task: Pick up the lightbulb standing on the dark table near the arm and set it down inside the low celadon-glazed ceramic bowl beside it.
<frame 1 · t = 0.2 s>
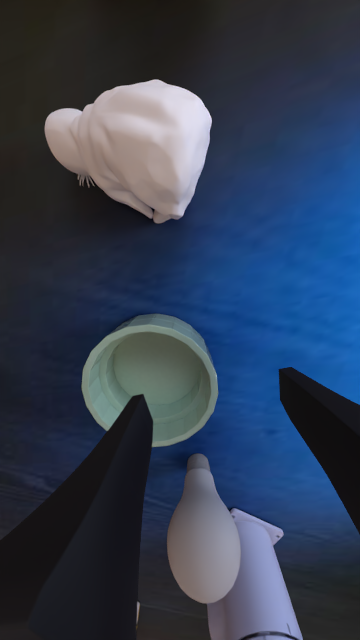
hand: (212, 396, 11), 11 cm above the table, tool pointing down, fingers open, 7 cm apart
bowl: (157, 364, 22), on the table
white crouching figurine: (135, 179, 18), on the table
lightbulb: (197, 454, 25), on the table
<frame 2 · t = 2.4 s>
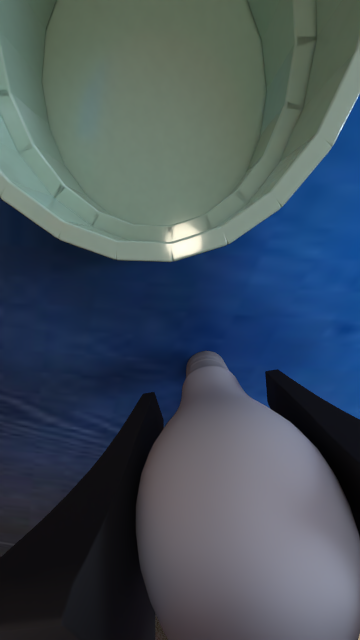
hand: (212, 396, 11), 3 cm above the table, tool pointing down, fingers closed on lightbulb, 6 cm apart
bowl: (157, 117, 9), on the table
lightbulb: (203, 359, 14), on the table, touching gripper
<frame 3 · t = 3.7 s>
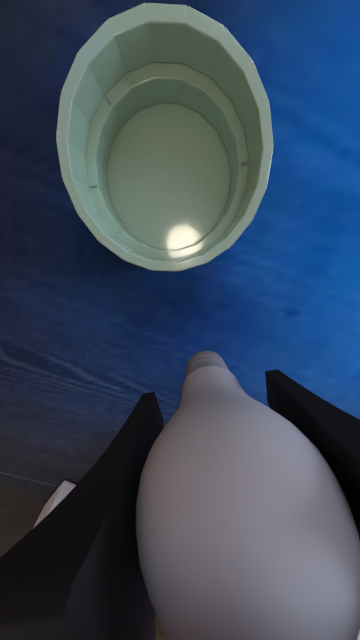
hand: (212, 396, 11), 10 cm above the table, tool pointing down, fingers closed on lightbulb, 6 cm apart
medicine bottle: (77, 497, 30), on the table
bowl: (169, 186, 16), on the table
lightbulb: (203, 359, 14), point 6 cm above the table, touching gripper
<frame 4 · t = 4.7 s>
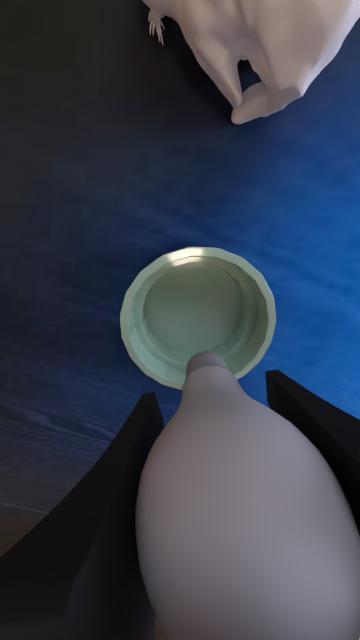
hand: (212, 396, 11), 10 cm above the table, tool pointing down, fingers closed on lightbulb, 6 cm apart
bowl: (193, 308, 20), on the table
white crouching figurine: (218, 50, 13), on the table
lightbulb: (203, 359, 14), point 7 cm above the table, touching gripper
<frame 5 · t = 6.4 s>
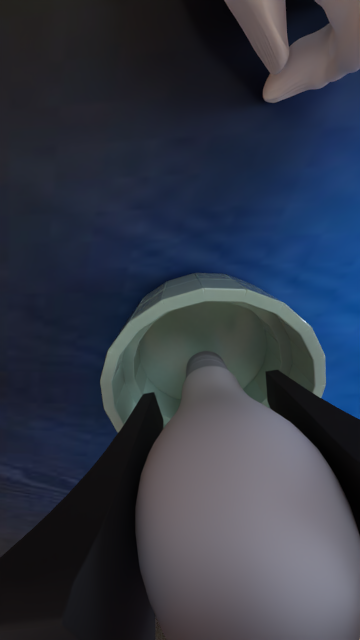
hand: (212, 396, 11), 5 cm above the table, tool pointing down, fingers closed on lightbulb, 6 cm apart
bowl: (202, 349, 15), on the table
lightbulb: (203, 359, 14), point 1 cm above the table, touching gripper
when the fingers open (4 cm above the table, at t = 7.3 s): lightbulb stays where it is, resting on bowl.
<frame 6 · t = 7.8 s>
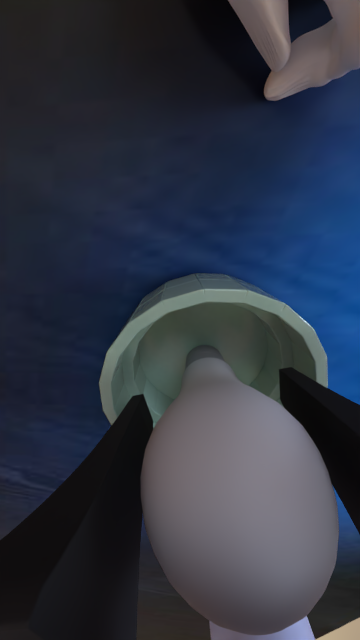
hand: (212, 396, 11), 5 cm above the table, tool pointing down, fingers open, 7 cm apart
bowl: (202, 350, 15), on the table
lightbulb: (202, 353, 15), resting on bowl
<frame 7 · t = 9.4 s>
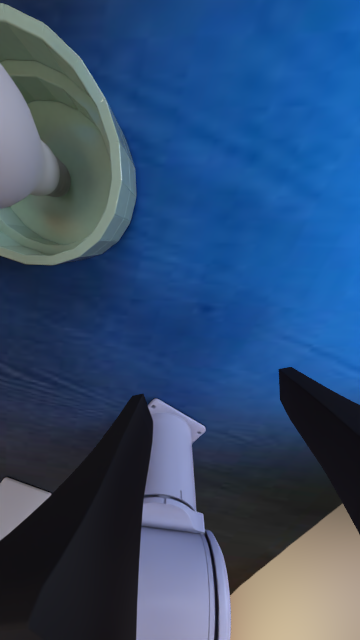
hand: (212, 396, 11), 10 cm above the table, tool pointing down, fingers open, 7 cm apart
medicine bottle: (22, 495, 30), on the table
bowl: (64, 182, 16), on the table
lightbulb: (60, 181, 15), resting on bowl
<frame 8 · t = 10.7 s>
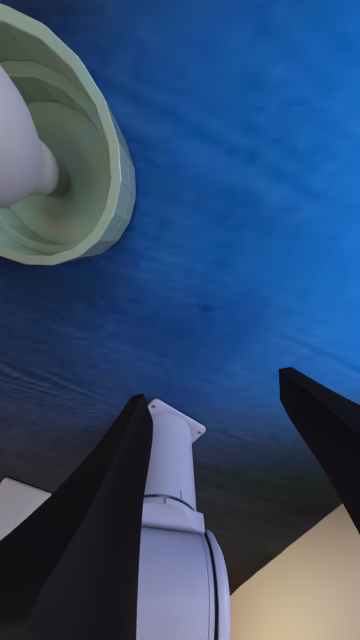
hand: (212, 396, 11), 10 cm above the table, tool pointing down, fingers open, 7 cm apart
medicine bottle: (22, 495, 30), on the table
bowl: (63, 183, 16), on the table
lightbulb: (60, 181, 15), resting on bowl
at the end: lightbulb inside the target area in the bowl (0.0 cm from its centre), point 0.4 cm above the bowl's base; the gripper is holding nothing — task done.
